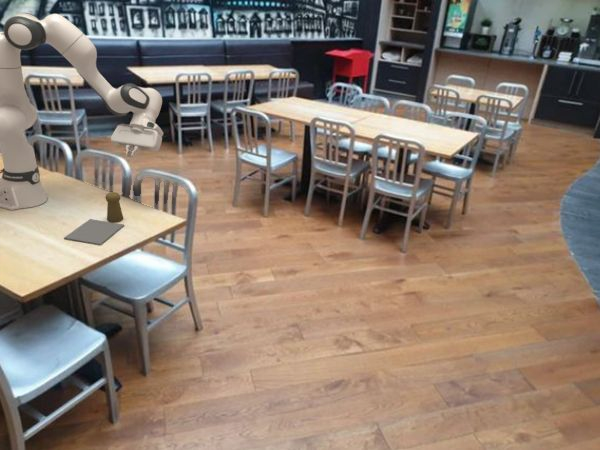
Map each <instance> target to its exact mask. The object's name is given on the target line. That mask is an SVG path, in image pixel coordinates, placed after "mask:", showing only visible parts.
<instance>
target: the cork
mask: <svg viewBox="0 0 600 450" xmlns="http://www.w3.org/2000/svg"><path fill="white" fill-rule="evenodd" d="M120 200H121V195H120V193H118V192H115V191H112V192H111V191H110V192H108V193H107V194H105V201H106V203H107V206H106V207H107V208H106V209H107V210H106V222H111V223H120V222H122V221H124V216H123V211H122V208H121V203H120Z"/></svg>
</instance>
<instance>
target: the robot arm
mask: <svg viewBox="0 0 600 450" xmlns="http://www.w3.org/2000/svg"><path fill="white" fill-rule="evenodd" d="M44 44H48V45H50V46H51V47H53V48H54V49H55V50H56V51H58V52H59V54H60V55H61V56H62V57H64V58H65V59H66V60H67V61H68V63H70V64H71V66H73V68H74V69H75V70H76V72H77V73H78V75H79V76H80V77H81V78H82V80H83V81H85V82H86V84H88V86H89V87H90V88H91V89H92V90H93V91H94V92H95V94H97V95H98V97H100V99H101V100H102V102H104V105H105V106H106V109H107V110H108V111H109V112H110V113H112V114H113V115H115V116H118V117H124V116H126V115H127V114H129V113H130V112H132V114H133V115H132V117H131V120H130V123H120V124H118V125H116V128H115V130H114V131H112V134H111V136H110V141H111V143H113V144H114V145H115V146H121V147H125V150H126V152H125V156H126V157H127V158H128V157H129V158H133V159H134V158H135V156H136V155H137V154H138V153H139V152H140V151H141V150H145V151H146V150H147V151H152V152H157V151H160V149H161V145H162V141H163V136H164V132H163V130H162V129H161V127H160V126H159V125H158V124H157V123H156V120H157V118H158V116H159V114H160V113H161V112H160V111H161V108H162V105H163V98H162V95H161V94H160V92H159V91H158V90H156V89H155V88H152V87H141V86H138V85H136V84H135V83H131V82H130V83H129V82H128V83H125V84H123V85H121V86H119V87H118V88H115V87H113V86H112V85H111V84H110V82H108V81H107V80H106V78H105V77H104V76H103V75H102V74H101V73H100V71H99V70H98V68H97V57H98V52H97V48H96V46H95V45H94V43H93V42H92V41H91V39H90V38H89V37H87V35H85V33H83V31H82V30H81V29H79V28H78V27H77V26H76V25H74V23H72V22H71V21H69V20H68V19H67V18H65V16H62V15H61V14H59V13H52V14H48V15H47V16H46V17H44V18H43V19H40V18H38V16H36V15H34V14H32V13H30V12H20V13H16V14H13V15H12V16H10V17H9V18H8V19H6V21H5V22H4V25H3V31H0V155H1V159H2V164H3V168H2V169H0V174H2V175H1V177H0V208H2V209H6V210H9V211H15V210H19V209H26V208H33V207H38V206H40V205H43V204H44V203H46V202H47V200H48V197H47V195H46V193H45V191H44V188H43V185H42V182H41V179H40V178H41V177H40V169H39V166H37V165H38V164H37V160H36V155H35V149H34V147H33V146H32V145H31V144H29V142H28V141H27V139H26V134H25V131H26V130H28V129H30V128H32V126H33V125H35V124H34V123H36V122H37V119H38V111H37V108H36V107H35V106H34V105H33V104H32V103H31V101H30V99H29V97H28V95H27V91H26V89H25V82H24V81H25V80H24V77H23V76H24V75H23V68H22V62H21V61H22V60H21V52H22V50H23V51H30V50H33V49H34V48H35V49H36V48H37V47H39V46H41V45H44ZM132 149H133V150H132ZM131 150H132V151H131Z"/></svg>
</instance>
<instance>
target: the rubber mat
mask: <svg viewBox="0 0 600 450" xmlns="http://www.w3.org/2000/svg"><path fill="white" fill-rule="evenodd" d="M124 227H125V224H122V223H119V222H117V223H111V222H108V221H105V220H98V219H93V218H92V219H91V218H89V219H88V220H87V221H85V222H84V223H82V224H81V225H80V226H78V227H77V228H75V229H74V230H73V231H72V232H70V233H68V234H67V235H66V236H64V237H63V239H64V240H66V241H67V240H68V241H72V242H77V243H78V242H79V243H82V244H83V243H84V244H90V245H95V246H103V244H104V243H106V242H107V241H108V240H109V239H110V238H112V237H113V236H114V235H115V234H116V233H117V232H119V231H120V230H121V229H123V228H124Z"/></svg>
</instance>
